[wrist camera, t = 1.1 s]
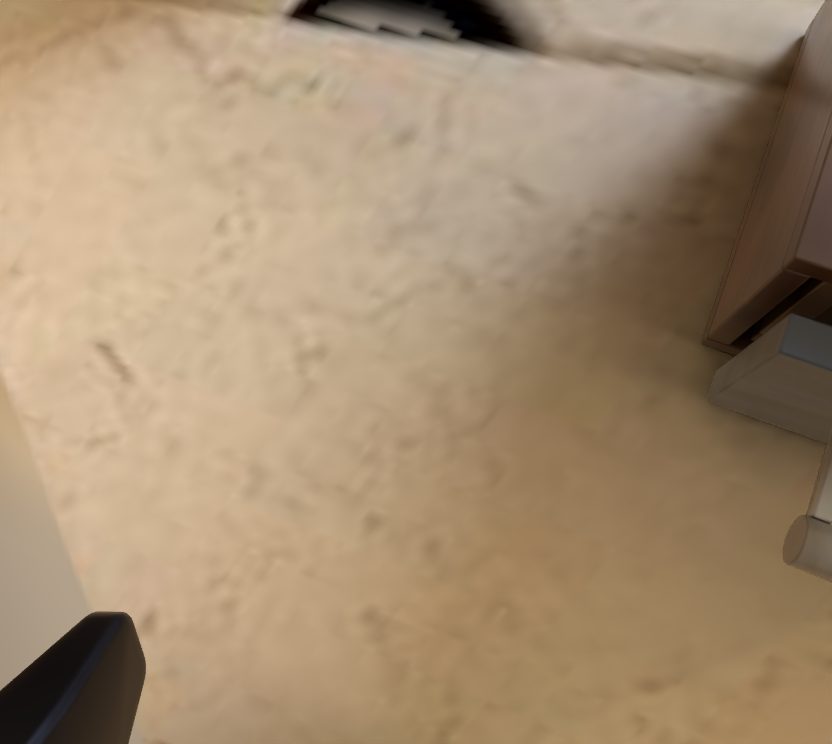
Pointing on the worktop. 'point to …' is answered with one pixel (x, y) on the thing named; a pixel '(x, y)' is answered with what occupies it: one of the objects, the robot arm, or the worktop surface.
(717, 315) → the drawer cabinet
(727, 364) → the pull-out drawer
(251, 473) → the worktop surface
